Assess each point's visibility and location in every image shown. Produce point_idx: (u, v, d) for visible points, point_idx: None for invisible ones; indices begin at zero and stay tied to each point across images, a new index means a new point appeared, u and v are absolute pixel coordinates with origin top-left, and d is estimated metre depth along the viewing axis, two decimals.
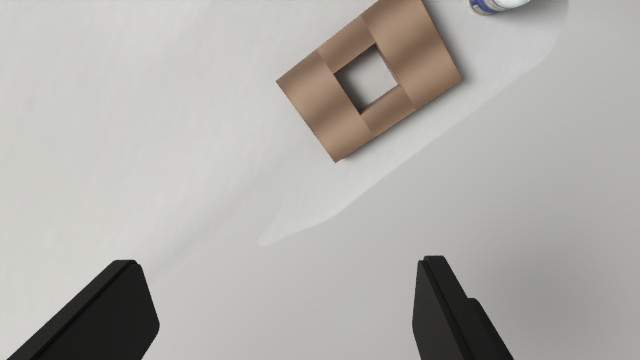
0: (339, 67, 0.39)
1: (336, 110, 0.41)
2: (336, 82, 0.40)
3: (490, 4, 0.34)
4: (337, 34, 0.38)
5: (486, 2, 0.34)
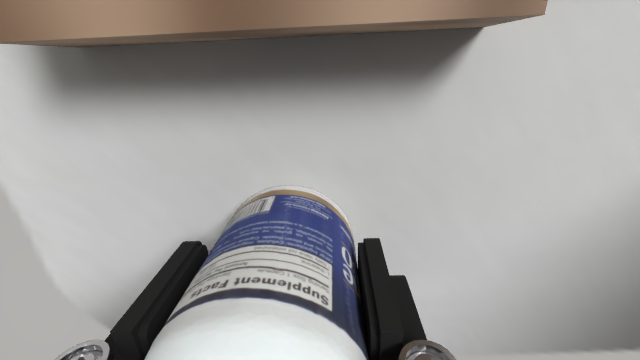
0: None
1: None
2: None
3: (227, 268, 0.07)
4: None
5: (247, 252, 0.08)
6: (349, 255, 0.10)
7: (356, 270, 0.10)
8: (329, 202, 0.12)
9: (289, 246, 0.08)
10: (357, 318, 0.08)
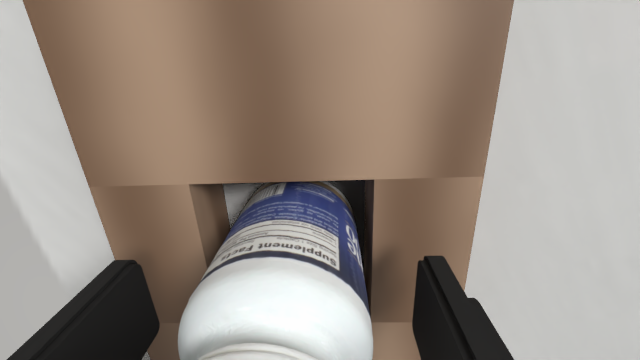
0: (378, 209, 0.11)
1: (247, 119, 0.10)
2: (341, 174, 0.10)
3: (250, 237, 0.09)
4: (466, 253, 0.11)
5: (266, 225, 0.09)
6: (352, 232, 0.11)
7: (358, 246, 0.11)
8: (334, 188, 0.13)
9: (302, 221, 0.10)
10: (360, 280, 0.09)
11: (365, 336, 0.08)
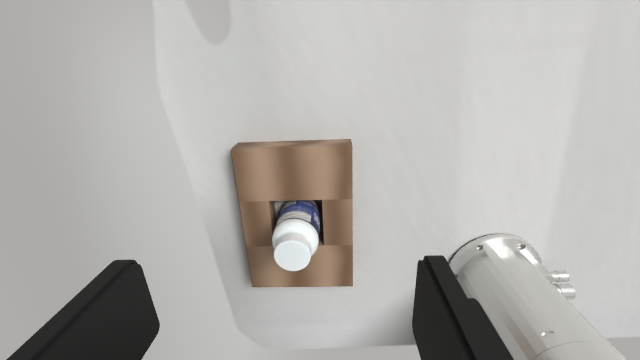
0: (323, 208, 0.37)
1: (286, 183, 0.36)
2: (312, 198, 0.37)
3: (288, 215, 0.35)
4: (351, 221, 0.38)
5: (292, 212, 0.36)
6: (316, 215, 0.38)
7: (318, 219, 0.38)
8: (312, 201, 0.40)
9: (301, 211, 0.36)
10: (316, 226, 0.35)
11: (315, 236, 0.34)
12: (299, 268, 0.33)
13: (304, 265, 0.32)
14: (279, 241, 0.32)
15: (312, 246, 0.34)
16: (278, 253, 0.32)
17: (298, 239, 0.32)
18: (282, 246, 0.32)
